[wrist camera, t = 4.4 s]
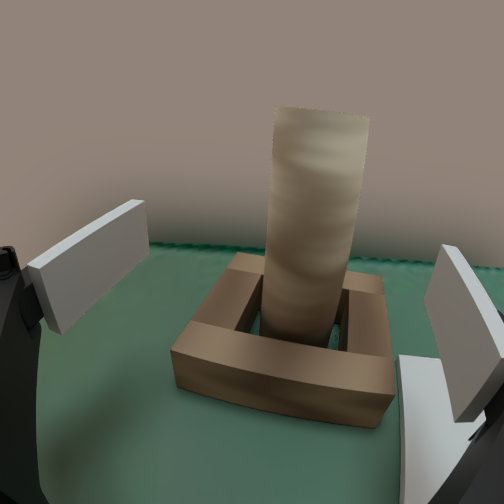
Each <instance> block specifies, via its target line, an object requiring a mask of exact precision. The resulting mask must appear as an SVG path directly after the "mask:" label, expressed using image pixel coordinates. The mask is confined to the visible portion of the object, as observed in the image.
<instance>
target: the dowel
mask: <svg viewBox="0 0 504 504" xmlns="http://www.w3.org/2000/svg"><path fill="white" fill-rule="evenodd" d="M369 124H370V118H369V117H365V116H359V115H353V114H347V113H341V112H334V111H326V110H317V109H308V108H296V107H284V106H275V117H274V133H273V149H272V165H271V181H270V196H269V210H268V225H267V238H266V252H265V265H264V279H263V292H262V305H261V317H260V330H259V336H262V337H267V338H272V339H277V340H282V341H287V342H292V343H297V344H303V345H308V346H314V347H320V348H325V349H327V346H328V342H329V339H330V335H331V331H332V327H333V323H334V320H335V316H336V312H337V308H338V303H339V299H340V295H341V291H342V286H343V282H344V277H345V273H346V268H347V264H348V259H349V254H350V249H351V244H352V239H353V233H354V228H355V223H356V217H357V211H358V205H359V199H360V193H361V187H362V179H363V173H364V166H365V158H366V151H367V143H368V134H369Z"/></svg>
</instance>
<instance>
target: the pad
mask: <svg viewBox="0 0 504 504" xmlns="http://www.w3.org/2000/svg"><path fill="white" fill-rule="evenodd" d="M396 367H397V379H398V392H399V408H400V436H401V472H400V498H399V504H428V502H429V501H430V500H431V499H432V497H433V496H434V495H435V494H436V492H437V491H438V490H439V488H440V487H441V486H442V484H443V483H444V482H445V480H446V479H447V478H448V476H449V475H450V473H451V472H452V470H453V469H454V468H455V466H456V465H457V463H458V462H459V460H460V459H461V457H462V456H463V454H464V452H465V451H466V449H467V448H468V446H469V444H470V443H471V441H472V440H471V441H468V439H469V438H470V437H471V436H472V435H473V434H474V433H475V431H476V430H477V429H478V428H479V427H480V426H481V425H482V424H483V423H484V421H485V420H486V417H485V413H484V410H483V411H482V413H481V414H480V415H479V416H478V417H477V419H476V420H475V421H474V422H467V423H454V419H453V414H452V408H451V403H450V398H449V393H448V389H447V384H446V380H445V375H444V371H443V367H442V363H441V359H435V358H425V357H416V356H407V355H398V357H397V360H396Z"/></svg>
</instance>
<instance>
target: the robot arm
mask: <svg viewBox="0 0 504 504" xmlns="http://www.w3.org/2000/svg"><path fill="white" fill-rule="evenodd" d="M149 254H150V250H149V240H148V230H147V220H146V209H145V201H142V200H130V201H128V202H126V203H125V204H123V205H121V206H119V207H118V208H116V209H114V210H112V211H110V212H109V213H107V214H105V215H104V216H102V217H100V218H98V219H97V220H95V221H94V222H92V223H90V224H88V225H87V226H85V227H83V228H82V229H80V230H79V231H77V232H75V233H74V234H72V235H70V236H69V237H67V238H66V239H64V240H63V241H61V242H59V243H58V244H56V245H55V246H53V247H52V248H50V249H49V250H47V251H46V252H44V253H43V254H41V255H40V256H38V257H37V258H35V259H34V260H32V261H31V262H29V263H28V264H27V267H25V268H24V269H22V270H21V269H20V266H19V263H18V259H17V256H16V252H15V249H14V248H13V247H12V246H4V247H0V504H49V503H48V501H47V499H46V498H45V496H44V494H43V493H42V490H41V487H40V482H39V472H38V461H37V445H36V386H37V369H38V357H39V347H40V338H41V325H40V323H39V321H40V320H41V319H42V318H43V317H44V318H45V320H46V323H47V325H48V328H49V329H50V330H52V331H54V332H56V333H58V334H60V335H63V334H64V333H65V332H66V331H67V330H68V329H69V328H70V327H71V326H72V325H73V324H74V323H75V322H77V321H78V320H79V319H80V318H81V317H82V316H83V315H84V314H85V313H86V312H87V311H88V310H89V309H90V308H91V307H92V306H93V305H94V304H95V303H96V302H97V301H98V300H99V299H101V298H102V297H103V296H104V295H105V294H106V293H107V292H108V291H109V290H110V289H111V288H112V287H113V286H115V285H116V284H117V283H118V282H119V281H120V280H121V279H122V278H123V277H124V276H125V275H127V274H128V273H129V272H130V271H131V270H132V269H133V268H134V267H136V266H137V265H138V264H139V263H140V262H141V261H142V260H143V259H145V258H146V257H147V256H148V255H149ZM423 301H424V304H425V307H426V310H427V313H428V317H429V320H430V323H431V326H432V330H433V333H434V337H435V340H436V344H437V348H438V351H439V355H440V359H441V363H442V367H443V371H444V375H445V380H446V384H447V389H448V393H449V398H450V403H451V408H452V414H453V419H454V423H467V422H474V421H475V420H476V419H477V417H478V416H479V415H480V414H481V413H482V411H483V410H484V413H485V417H486V420H485V421H484V423H483V424H482V425H481V426H480V427H479V428H478V429H477V430H476V431H475V433H474V434H473V435H472V436H471V437H470V438H469V439H468V441H471V440H472V441H471V443H470V444H469V446H468V448H467V449H466V451H465V452H464V454H463V456H462V457H461V459H460V460H459V462H458V463H457V465H456V466H455V468H454V469H453V470H452V472H451V473H450V475H449V476H448V478H447V479H446V480H445V482H444V483H443V484H442V486H441V487H440V488H439V490H438V491H437V492H436V494H435V495H434V496H433V497H432V499H431V500H430V501H429V502H428V504H504V315H503V314H502V313H501V312H500V311H498V310H496V308H495V307H494V305H493V303H492V301H491V300H490V298H489V296H488V295H487V293H486V291H485V290H484V288H483V286H482V285H481V283H480V281H479V280H478V278H477V277H476V275H475V274H474V272H473V270H472V269H471V267H470V266H469V264H468V263H467V261H466V260H465V258H464V257H463V256H462V254H461V252H460V251H459V250H458V248H457V247H453V246H448V245H443V244H442V245H441V248H440V251H439V255H438V258H437V261H436V264H435V267H434V270H433V273H432V276H431V279H430V282H429V285H428V288H427V290H426V293H425V296H424V299H423Z"/></svg>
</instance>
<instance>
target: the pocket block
mask: <svg viewBox="0 0 504 504" xmlns="http://www.w3.org/2000/svg"><path fill="white" fill-rule="evenodd" d="M264 265H265V257H263V256H257V255H251V254H245V253H239V252H237V253H236V255H235V256H234V258H233V259H232V261H231V262H230V264H229V265H228V266H227V268H226V269H225V271H224V272H223V274H222V275H221V276H220V278H219V279H218V281H217V282H216V284H215V285H214V286H213V288H212V289H211V291H210V292H209V294H208V295H207V297H206V298H205V299H204V301H203V302H202V304H201V305H200V307H199V308H198V310H197V311H196V312H195V314H194V315H193V317H192V318H191V320H190V321H189V323H188V324H187V326H186V327H185V328H184V330H183V331H182V333H181V334H180V336H179V337H178V339H177V340H176V342H175V343H174V344H173V346H172V347H171V349H170V353H171V358H172V364H173V369H174V374H175V379H176V384H177V387H180V388H183V389H186V390H189V391H193V392H196V393H199V394H202V395H206V396H209V397H213V398H216V399H220V400H224V401H227V402H231V403H235V404H239V405H243V406H247V407H251V408H255V409H259V410H264V411H268V412H273V413H278V414H283V415H288V416H293V417H298V418H304V419H310V420H316V421H322V422H328V423H335V424H343V425H351V426H359V427H369V428H375V427H376V426H377V424H378V423H379V421H380V420H381V418H382V416H383V415H384V413H385V412H386V410H387V408H388V407H389V405H390V403H391V402H392V400H393V398H394V396H395V381H394V368H393V357H392V347H391V338H390V330H389V322H388V314H387V307H386V300H385V294H384V287H383V281H382V276H376V275H370V274H364V273H358V272H352V271H346V273H345V277H344V282H343V286H342V291H341V295H340V299H339V303H338V308H337V312H336V316H335V320H334V323H337V324H340V336H339V348H338V350H331V349H325V348H320V347H314V346H308V345H303V344H297V343H292V342H287V341H282V340H277V339H272V338H267V337H262V336H257V335H252V334H248V333H249V331H250V329H251V327H252V324H253V322H254V320H255V317H256V315H257V313H258V310H259V309H260V310H261V305H262V292H263V279H264Z"/></svg>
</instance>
